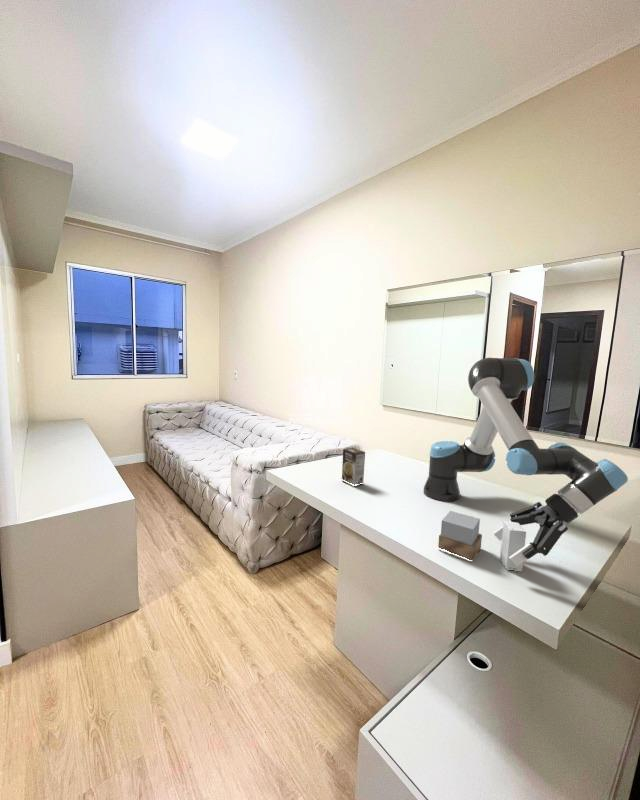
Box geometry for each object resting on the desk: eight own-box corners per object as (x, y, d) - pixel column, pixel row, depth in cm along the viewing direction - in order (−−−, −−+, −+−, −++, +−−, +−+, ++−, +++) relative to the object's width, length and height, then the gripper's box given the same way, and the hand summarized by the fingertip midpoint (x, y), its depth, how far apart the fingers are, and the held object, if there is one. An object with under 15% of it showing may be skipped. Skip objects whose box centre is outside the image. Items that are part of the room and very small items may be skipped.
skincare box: (522, 573, 95) (526, 532, 94) (506, 570, 96) (509, 530, 95) (514, 560, 101) (518, 522, 100) (499, 558, 102) (502, 520, 101)
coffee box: (341, 481, 164) (342, 448, 163) (351, 479, 168) (352, 447, 166) (353, 487, 157) (355, 453, 155) (364, 484, 161) (365, 451, 159)
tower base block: (437, 551, 106) (439, 535, 105) (448, 538, 114) (449, 524, 113) (472, 563, 100) (473, 547, 99) (480, 549, 108) (482, 534, 107)
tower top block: (440, 535, 105) (441, 520, 105) (449, 525, 113) (450, 510, 112) (471, 545, 100) (473, 529, 100) (478, 534, 107) (479, 518, 107)
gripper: (606, 536, 82) (531, 585, 86) (554, 496, 106) (498, 537, 111) (584, 512, 82) (510, 563, 87) (537, 478, 107) (482, 519, 111)
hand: (503, 548), depth 99 cm, fingers open, 13 cm apart
